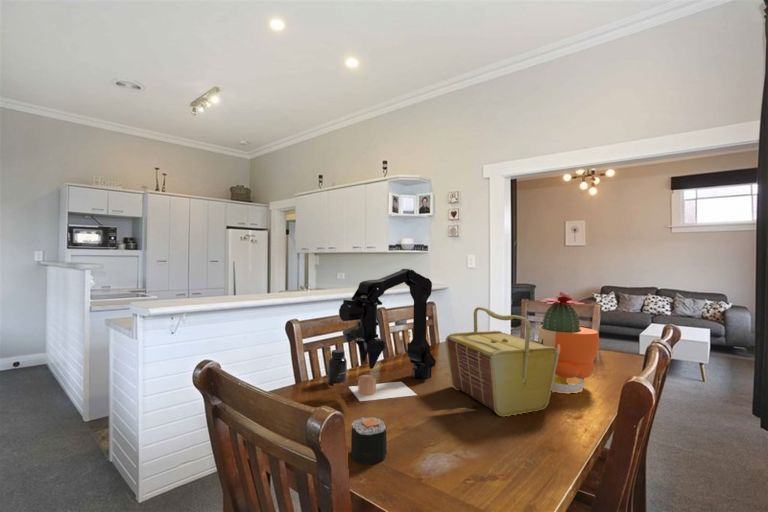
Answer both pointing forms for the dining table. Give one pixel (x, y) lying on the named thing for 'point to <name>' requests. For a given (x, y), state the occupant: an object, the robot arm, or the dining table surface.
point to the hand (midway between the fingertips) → (367, 364)
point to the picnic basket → (502, 368)
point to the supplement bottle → (337, 367)
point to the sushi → (368, 440)
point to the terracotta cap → (366, 385)
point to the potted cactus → (568, 342)
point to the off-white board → (385, 391)
